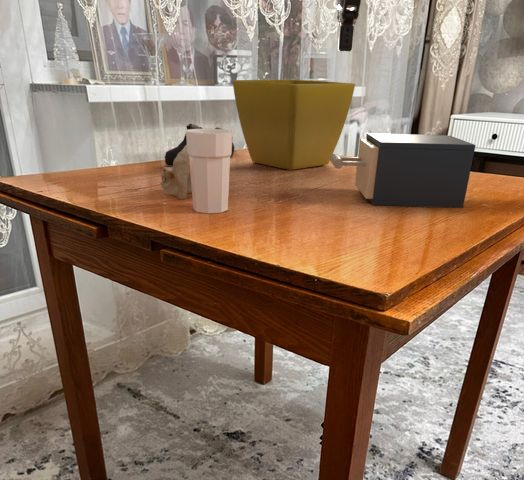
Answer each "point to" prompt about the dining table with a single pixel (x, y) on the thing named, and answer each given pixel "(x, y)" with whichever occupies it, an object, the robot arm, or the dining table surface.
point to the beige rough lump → (178, 176)
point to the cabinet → (421, 170)
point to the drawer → (362, 166)
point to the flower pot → (292, 120)
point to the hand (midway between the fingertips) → (344, 51)
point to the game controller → (174, 152)
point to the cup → (209, 168)
